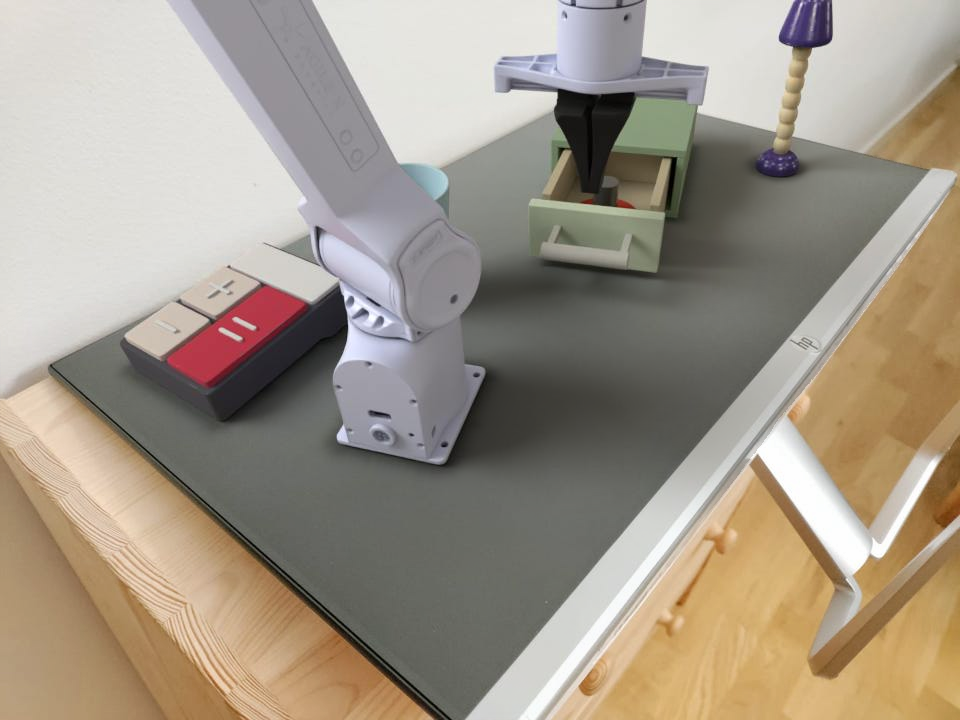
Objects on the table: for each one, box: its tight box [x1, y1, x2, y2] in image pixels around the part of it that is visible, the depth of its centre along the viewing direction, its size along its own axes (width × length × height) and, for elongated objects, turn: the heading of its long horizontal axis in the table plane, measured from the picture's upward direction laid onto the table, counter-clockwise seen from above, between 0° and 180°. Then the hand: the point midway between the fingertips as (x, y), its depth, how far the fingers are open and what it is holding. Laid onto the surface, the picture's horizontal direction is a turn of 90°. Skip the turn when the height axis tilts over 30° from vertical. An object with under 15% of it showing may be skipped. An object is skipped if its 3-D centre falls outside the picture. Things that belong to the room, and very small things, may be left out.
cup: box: [398, 162, 451, 221], centre depth 58 cm, size 8×8×10 cm
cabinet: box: [550, 95, 699, 219], centre depth 73 cm, size 15×12×7 cm
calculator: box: [119, 242, 348, 422], centre depth 56 cm, size 11×4×15 cm
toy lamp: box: [755, 0, 834, 177], centre depth 69 cm, size 5×5×17 cm
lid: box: [579, 176, 636, 209], centre depth 64 cm, size 6×6×4 cm
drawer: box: [528, 148, 674, 274], centre depth 63 cm, size 19×11×5 cm, turn 162°
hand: (592, 187), depth 55 cm, fingers closed
